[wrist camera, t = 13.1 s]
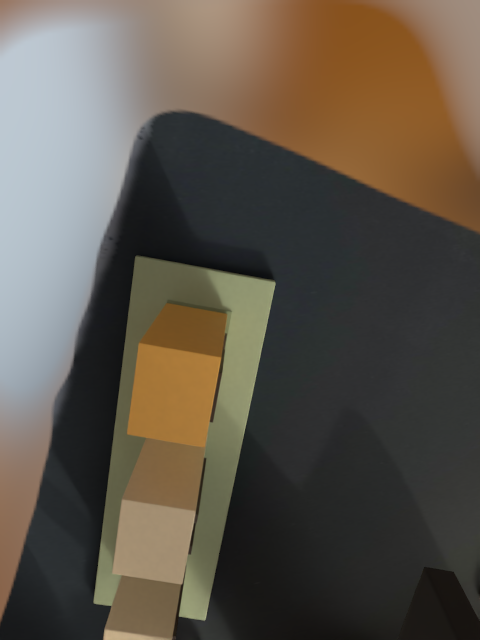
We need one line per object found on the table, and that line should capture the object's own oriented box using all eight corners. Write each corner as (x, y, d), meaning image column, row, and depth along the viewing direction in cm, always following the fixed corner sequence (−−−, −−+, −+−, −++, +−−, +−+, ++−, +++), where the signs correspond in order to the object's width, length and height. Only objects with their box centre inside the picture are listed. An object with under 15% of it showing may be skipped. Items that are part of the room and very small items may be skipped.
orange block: (166, 302, 30) (138, 342, 22) (230, 314, 30) (225, 357, 22) (155, 373, 31) (126, 434, 23) (217, 384, 31) (208, 448, 23)
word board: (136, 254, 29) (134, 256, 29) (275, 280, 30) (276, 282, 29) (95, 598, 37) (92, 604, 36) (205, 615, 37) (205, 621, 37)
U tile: (151, 424, 32) (121, 499, 24) (210, 434, 32) (199, 511, 25) (142, 485, 33) (111, 574, 26) (199, 495, 34) (185, 585, 26)
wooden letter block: (135, 530, 34) (104, 628, 27) (191, 539, 35) (175, 639, 27) (128, 583, 36) (96, 691, 28) (181, 591, 36) (163, 701, 28)
